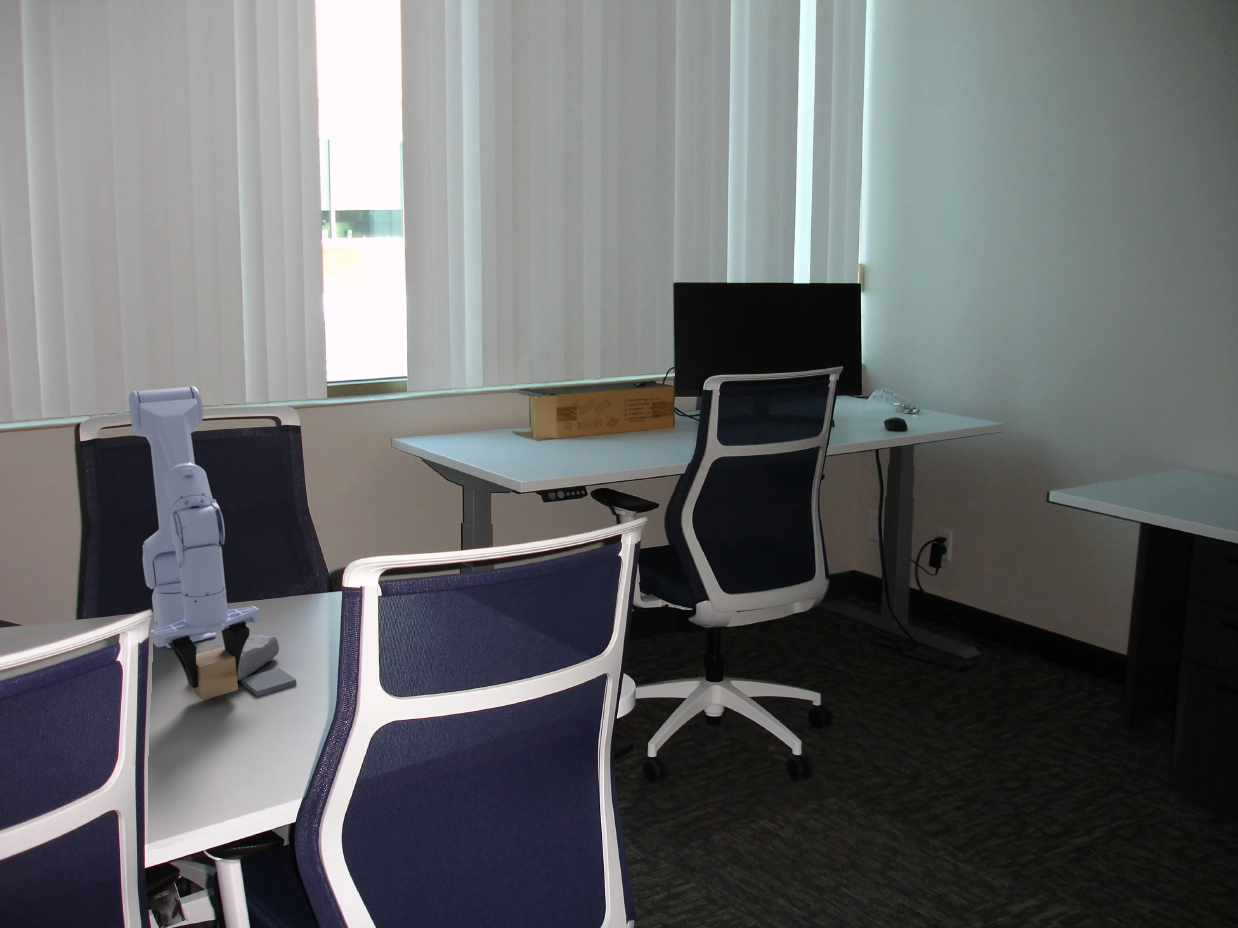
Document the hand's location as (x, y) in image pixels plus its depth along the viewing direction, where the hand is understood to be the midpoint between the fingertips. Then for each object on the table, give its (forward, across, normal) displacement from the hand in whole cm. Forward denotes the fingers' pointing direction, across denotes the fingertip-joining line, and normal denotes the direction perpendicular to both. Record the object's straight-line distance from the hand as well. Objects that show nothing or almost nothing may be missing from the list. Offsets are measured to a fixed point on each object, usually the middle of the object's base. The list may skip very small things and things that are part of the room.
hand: (213, 679), depth 151 cm
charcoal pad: (+3, +8, 0) cm, 9 cm away
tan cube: (+2, 0, 0) cm, 2 cm away
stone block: (+3, +6, +9) cm, 11 cm away
